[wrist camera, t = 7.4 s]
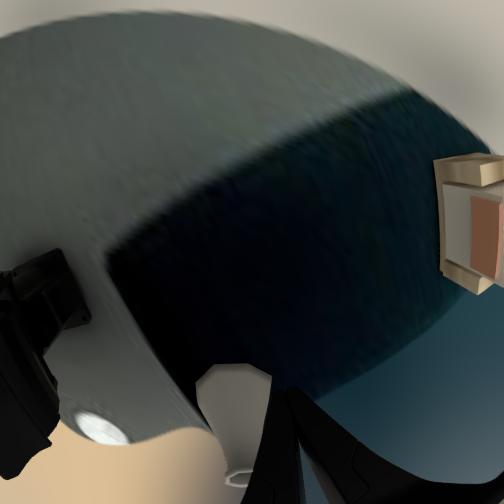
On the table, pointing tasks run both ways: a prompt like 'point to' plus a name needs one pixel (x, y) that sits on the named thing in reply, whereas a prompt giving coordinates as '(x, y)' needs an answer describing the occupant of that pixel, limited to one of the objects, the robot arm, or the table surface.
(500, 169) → the beige toy armchair
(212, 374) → the flask
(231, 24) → the table surface
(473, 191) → the white box
